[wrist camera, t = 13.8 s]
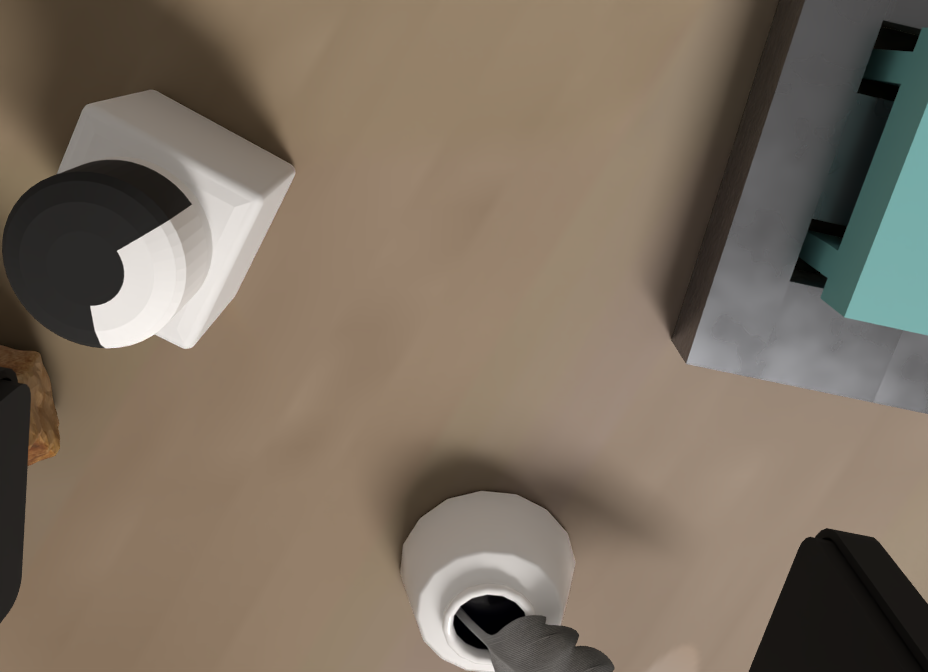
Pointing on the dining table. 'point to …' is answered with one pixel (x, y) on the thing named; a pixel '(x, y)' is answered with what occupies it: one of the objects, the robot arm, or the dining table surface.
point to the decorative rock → (35, 402)
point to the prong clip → (886, 211)
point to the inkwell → (495, 586)
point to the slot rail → (801, 215)
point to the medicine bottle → (142, 224)
